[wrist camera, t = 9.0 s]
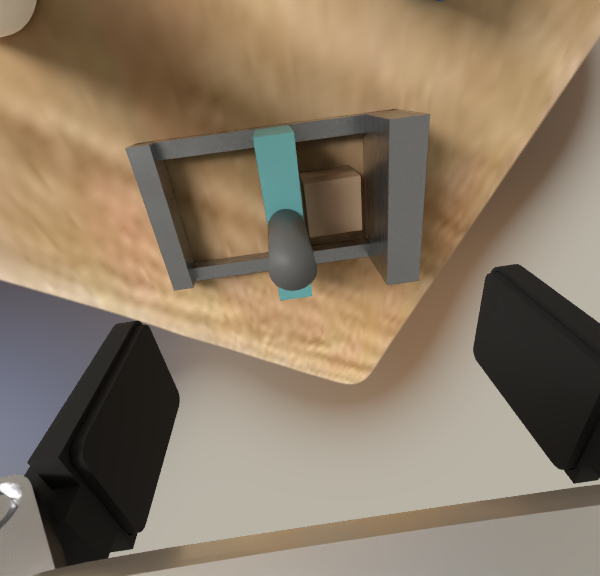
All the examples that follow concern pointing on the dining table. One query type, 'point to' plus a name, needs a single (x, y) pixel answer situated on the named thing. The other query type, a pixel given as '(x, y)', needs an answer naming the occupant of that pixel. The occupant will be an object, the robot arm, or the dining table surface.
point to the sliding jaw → (284, 213)
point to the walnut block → (331, 200)
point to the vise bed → (377, 245)
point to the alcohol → (15, 15)
